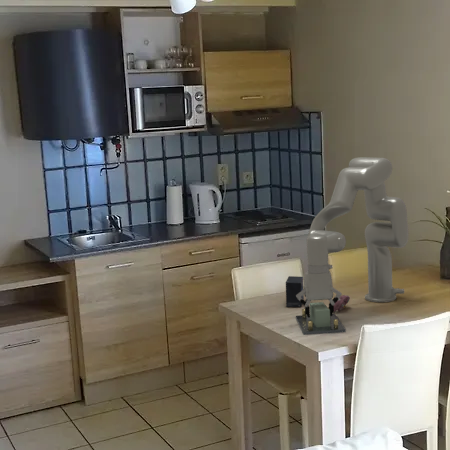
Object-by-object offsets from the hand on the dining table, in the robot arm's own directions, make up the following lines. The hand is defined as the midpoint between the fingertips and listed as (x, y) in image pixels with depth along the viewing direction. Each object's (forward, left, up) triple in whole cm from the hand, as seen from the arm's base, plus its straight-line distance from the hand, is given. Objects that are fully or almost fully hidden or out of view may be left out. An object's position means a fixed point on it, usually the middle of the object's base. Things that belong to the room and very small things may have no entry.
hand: (319, 315), depth 261 cm
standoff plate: (0, 0, -4) cm, 4 cm away
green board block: (0, 0, -3) cm, 3 cm away
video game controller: (-11, -18, -4) cm, 22 cm away
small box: (+5, -30, -4) cm, 31 cm away
